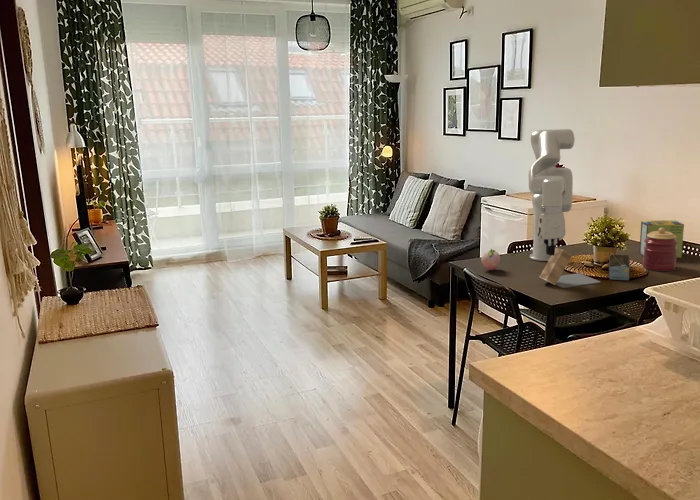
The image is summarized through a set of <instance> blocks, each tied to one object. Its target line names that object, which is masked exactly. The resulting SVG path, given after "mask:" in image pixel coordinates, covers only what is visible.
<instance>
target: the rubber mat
mask: <svg viewBox="0 0 700 500" xmlns="http://www.w3.org/2000/svg"><path fill="white" fill-rule="evenodd" d="M594 284H601V281H600V280H598V279H594V277H593V278H592V277H590V276H587V275H585V274H582V273H580V272H577V273H576V272H575V273H572V274H571V273H569V274H561V276H560V278H559V280H558V281H557V283H556V285H555V286H557V287H559V288H562V289H567V288H574V287H580V286H588V285H589V286H590V285H594Z"/></svg>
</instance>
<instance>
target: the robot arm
mask: <svg viewBox="0 0 700 500" xmlns="http://www.w3.org/2000/svg"><path fill="white" fill-rule="evenodd" d="M575 139H576V138H575V133H574V131H573V130H572V129H569V128H559V129H540V130H535V131H533V132H532V133H531V134H530V145H531V148H532V151H533V154H534V155H535V161H534V162H533V163H532V165H531V166H530V168H529V171H528V190H529V192H530V193H531V194H532V195H533V196H532V198H531V199H532V200H531V203H532V213H533V241H532V242H533V246H532V247H531V248H530V250H531V251H532V253H531V254H530V255H529V259H531V260H533V261H537V262H548V261H549V259H550V257H551V255H554V252H555V248H556V246H557V244H558V242H559V241H561V240H563V239H564V237H565V236H566V219H565V214H564V213H568V212H570V211H571V210H572V208H573V190H574V189H573V185H574V184H573V172H572V170H571V169H570V168H569V167H556V166H557V165H558V164H559V163H560V162H561V150H571V149H573V147H574V145H575Z"/></svg>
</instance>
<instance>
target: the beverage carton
mask: <svg viewBox="0 0 700 500" xmlns="http://www.w3.org/2000/svg"><path fill="white" fill-rule="evenodd" d="M610 255H611V256H610ZM610 255H609V256H610V258H609V262H608V276H609V280H617V281H629V280H630V272H631V271H630V256H629V254H614V255H612V254H610Z"/></svg>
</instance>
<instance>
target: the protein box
mask: <svg viewBox="0 0 700 500" xmlns="http://www.w3.org/2000/svg"><path fill="white" fill-rule="evenodd" d="M640 223H641V224H640V236H639V237H640V239H639V252H638V253H640V254H641V255H642V256H643V257H644V247H645V242H644V240H645V239H646V238H647V234H649V233H651V232H653V231H658V230H659V228H664V229H665V231H667V232H671V233H673V234H674V235H676V238H675V239H676V240H677V241H678V244H677V249H678V250H677V259H678V258H679V259H680V258H682V254H683V242H684V241H683V240H684V229H685V228H684V227H685V224H684V223H682V222H679V220H676V219H674V220H673V219H671V220H641V221H640Z"/></svg>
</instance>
